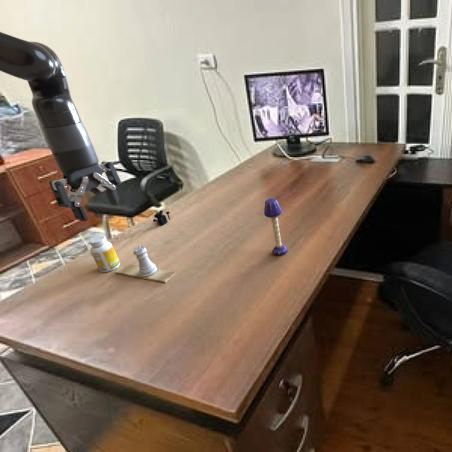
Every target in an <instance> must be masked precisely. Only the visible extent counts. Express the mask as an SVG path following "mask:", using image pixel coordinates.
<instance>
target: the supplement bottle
mask: <svg viewBox="0 0 452 452" xmlns="http://www.w3.org/2000/svg"><path fill="white" fill-rule="evenodd" d="M88 244H89V245H90V248H89V249H90V250H89V253H90V254H91V256H92V258H93V260H94V262H95V264H96V266H97V268H98V270H99V272H101V273H108V272H109V273H110V272H112V271H114V270H116V269H118V268H119V267H120V266H121V261H120V259H119V257H118V255H117V253H116V250H115V248H114V246H113V244H112V242H110V241H108V239H107V238H106V236H105V235H97V236H94V237H92V238H91V239H88Z"/></svg>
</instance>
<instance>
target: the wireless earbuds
mask: <svg viewBox="0 0 452 452" xmlns="http://www.w3.org/2000/svg"><path fill="white" fill-rule="evenodd" d="M169 214H170V211H168V210H167V211H165V214H164V210H162V209H160V210H159V212H156V213H155V214H154V215H153V217H154V218H153V219H152V223H156V225H157V227H160V226H164V225H166V224H167V223H168V220H169V221H170V220H171V217H170V215H169ZM166 215H167V216H166ZM167 218H168V219H167Z"/></svg>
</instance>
